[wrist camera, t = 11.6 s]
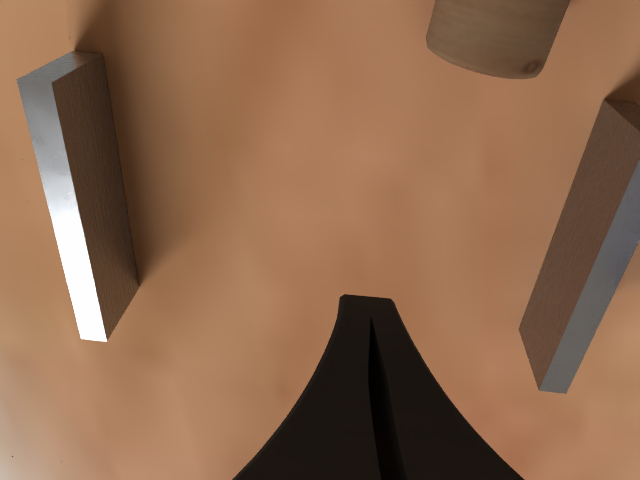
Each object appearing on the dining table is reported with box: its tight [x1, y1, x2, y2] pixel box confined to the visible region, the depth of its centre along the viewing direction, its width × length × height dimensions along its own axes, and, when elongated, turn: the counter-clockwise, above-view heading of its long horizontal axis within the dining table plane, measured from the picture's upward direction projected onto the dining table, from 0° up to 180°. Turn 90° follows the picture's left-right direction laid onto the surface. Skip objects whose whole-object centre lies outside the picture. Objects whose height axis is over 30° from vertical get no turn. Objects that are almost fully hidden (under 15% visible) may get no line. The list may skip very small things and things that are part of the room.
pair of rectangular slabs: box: [17, 51, 640, 394], centre depth 22 cm, size 22×12×4 cm, turn 86°
